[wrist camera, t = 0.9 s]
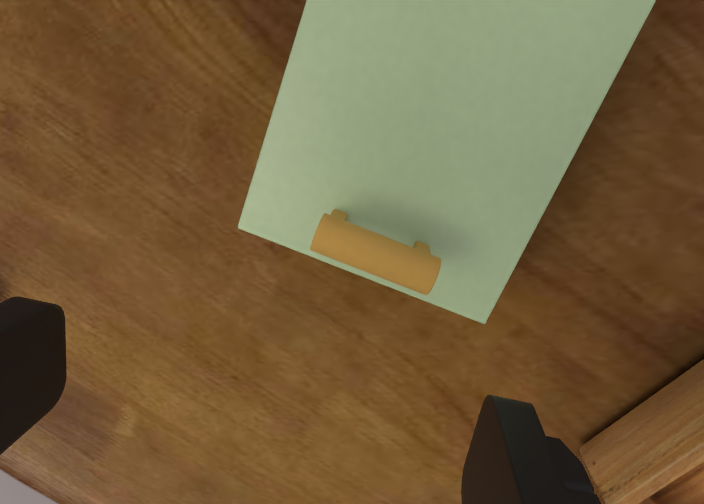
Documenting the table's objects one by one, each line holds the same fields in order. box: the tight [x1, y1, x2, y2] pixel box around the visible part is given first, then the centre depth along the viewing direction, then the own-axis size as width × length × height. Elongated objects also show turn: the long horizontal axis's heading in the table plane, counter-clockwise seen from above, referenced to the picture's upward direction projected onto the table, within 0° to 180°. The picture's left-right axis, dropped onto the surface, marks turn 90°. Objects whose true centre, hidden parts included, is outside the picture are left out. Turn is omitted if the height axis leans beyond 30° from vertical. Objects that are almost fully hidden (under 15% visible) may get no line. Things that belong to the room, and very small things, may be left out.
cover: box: [238, 0, 656, 324], centre depth 19 cm, size 16×13×5 cm
